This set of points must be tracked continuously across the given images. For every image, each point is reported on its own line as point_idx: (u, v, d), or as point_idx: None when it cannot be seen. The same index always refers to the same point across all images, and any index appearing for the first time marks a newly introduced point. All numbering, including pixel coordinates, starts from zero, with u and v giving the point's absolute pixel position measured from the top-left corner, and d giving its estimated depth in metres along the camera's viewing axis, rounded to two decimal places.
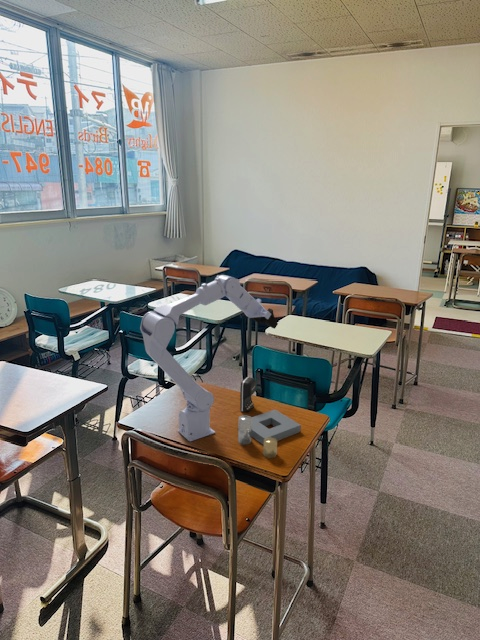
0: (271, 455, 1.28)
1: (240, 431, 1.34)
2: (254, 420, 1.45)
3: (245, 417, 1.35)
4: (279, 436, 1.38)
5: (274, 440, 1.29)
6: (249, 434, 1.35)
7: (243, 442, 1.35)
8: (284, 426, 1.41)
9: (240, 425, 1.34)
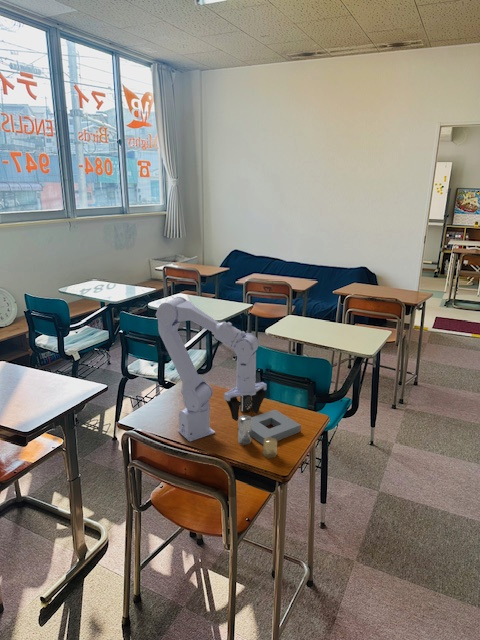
0: (271, 455, 1.28)
1: (240, 431, 1.34)
2: (254, 420, 1.45)
3: (245, 417, 1.35)
4: (279, 436, 1.38)
5: (274, 440, 1.29)
6: (249, 434, 1.35)
7: (243, 442, 1.35)
8: (284, 426, 1.41)
9: (240, 425, 1.34)
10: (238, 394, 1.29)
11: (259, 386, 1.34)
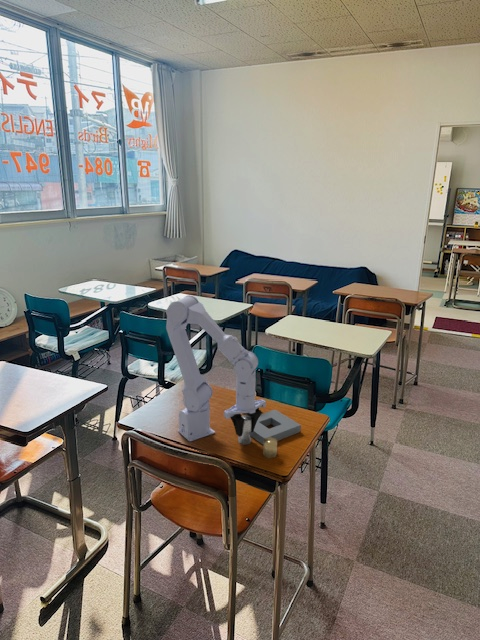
0: (271, 455, 1.28)
1: None
2: None
3: (245, 417, 1.35)
4: (279, 436, 1.38)
5: (274, 440, 1.29)
6: (249, 434, 1.35)
7: (243, 442, 1.35)
8: (284, 426, 1.41)
9: None
10: (238, 412, 1.30)
11: (258, 403, 1.35)
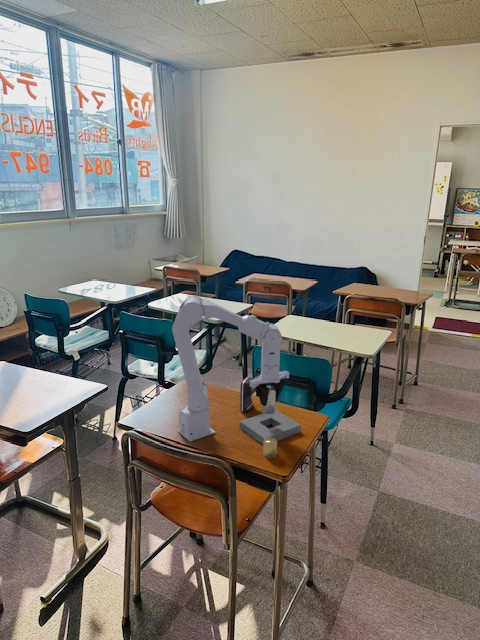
0: (271, 455, 1.28)
1: None
2: (254, 420, 1.45)
3: (269, 387, 1.40)
4: (279, 436, 1.38)
5: (274, 440, 1.29)
6: (273, 404, 1.39)
7: (268, 412, 1.39)
8: (284, 426, 1.41)
9: None
10: (263, 381, 1.35)
11: (282, 374, 1.40)
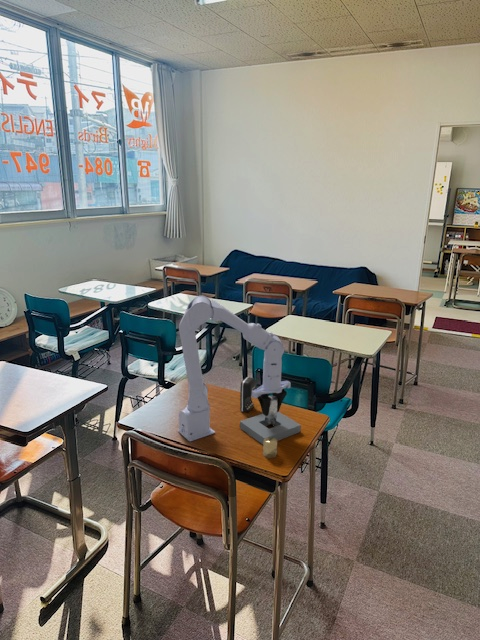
0: (271, 455, 1.28)
1: None
2: (254, 420, 1.45)
3: (271, 397, 1.41)
4: (279, 436, 1.38)
5: (274, 440, 1.29)
6: (275, 414, 1.41)
7: (269, 421, 1.41)
8: (284, 426, 1.41)
9: None
10: (265, 392, 1.36)
11: (284, 384, 1.42)
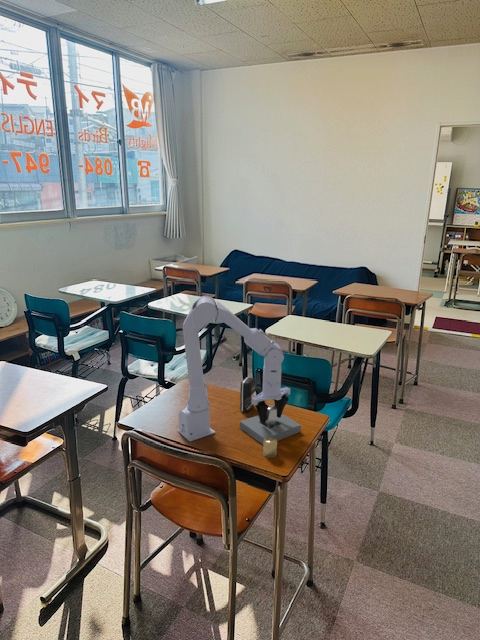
0: (271, 455, 1.28)
1: (266, 420, 1.41)
2: (254, 420, 1.45)
3: (270, 407, 1.42)
4: (279, 436, 1.38)
5: (274, 440, 1.29)
6: (275, 423, 1.42)
7: None
8: (284, 426, 1.41)
9: (266, 415, 1.41)
10: (265, 399, 1.37)
11: (283, 391, 1.42)
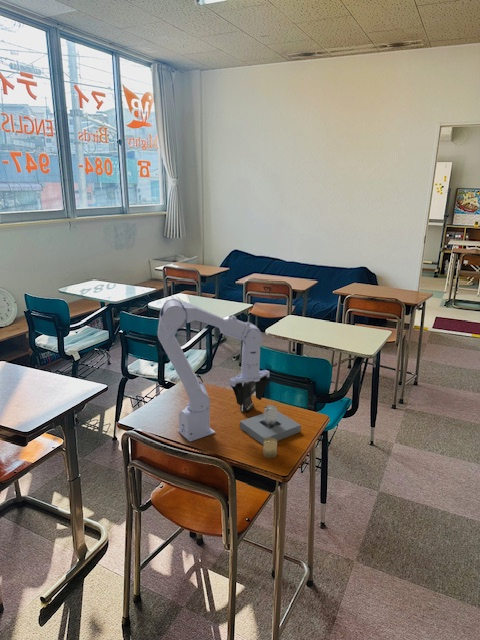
0: (271, 455, 1.28)
1: (266, 420, 1.41)
2: (254, 420, 1.45)
3: (270, 407, 1.42)
4: (279, 436, 1.38)
5: (274, 440, 1.29)
6: (275, 423, 1.42)
7: None
8: (284, 426, 1.41)
9: (266, 415, 1.41)
10: (243, 380, 1.37)
11: (263, 373, 1.42)
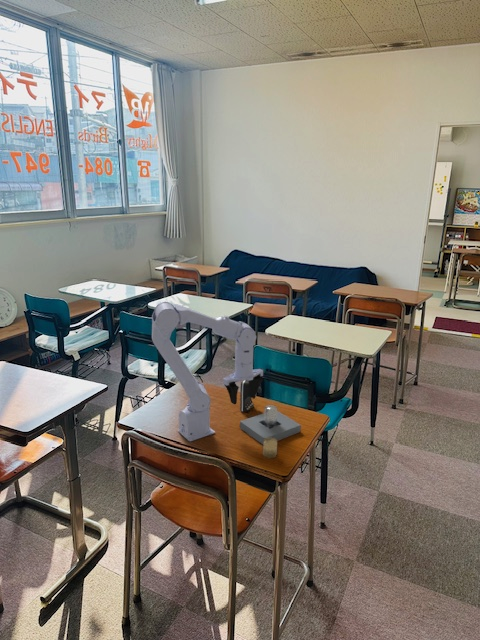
0: (271, 455, 1.28)
1: (266, 420, 1.41)
2: (254, 420, 1.45)
3: (270, 407, 1.42)
4: (279, 436, 1.38)
5: (274, 440, 1.29)
6: (275, 423, 1.42)
7: None
8: (284, 426, 1.41)
9: (266, 415, 1.41)
10: (236, 379, 1.37)
11: (256, 372, 1.43)
